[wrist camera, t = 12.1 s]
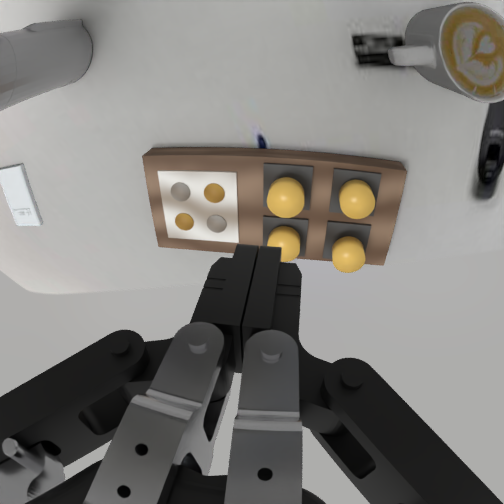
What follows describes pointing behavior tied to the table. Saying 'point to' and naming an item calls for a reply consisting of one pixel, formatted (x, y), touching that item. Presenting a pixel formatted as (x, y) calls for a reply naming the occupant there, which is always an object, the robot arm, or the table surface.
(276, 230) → the button
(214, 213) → the button board
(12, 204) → the external hard drive
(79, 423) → the robot arm
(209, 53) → the table surface
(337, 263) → the button
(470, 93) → the coffee mug
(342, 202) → the button
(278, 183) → the button
